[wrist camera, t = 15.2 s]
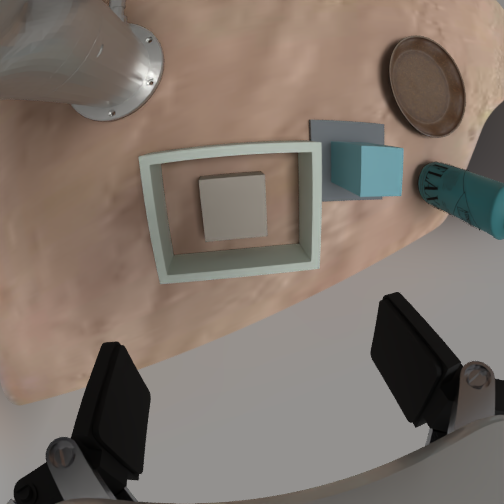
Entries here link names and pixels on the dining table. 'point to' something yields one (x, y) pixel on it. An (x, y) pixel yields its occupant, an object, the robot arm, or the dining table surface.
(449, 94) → the saucer
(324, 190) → the mat
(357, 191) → the block
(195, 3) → the dining table surface
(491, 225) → the beverage bottle
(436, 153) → the dining table surface
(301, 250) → the frame
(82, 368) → the dining table surface
